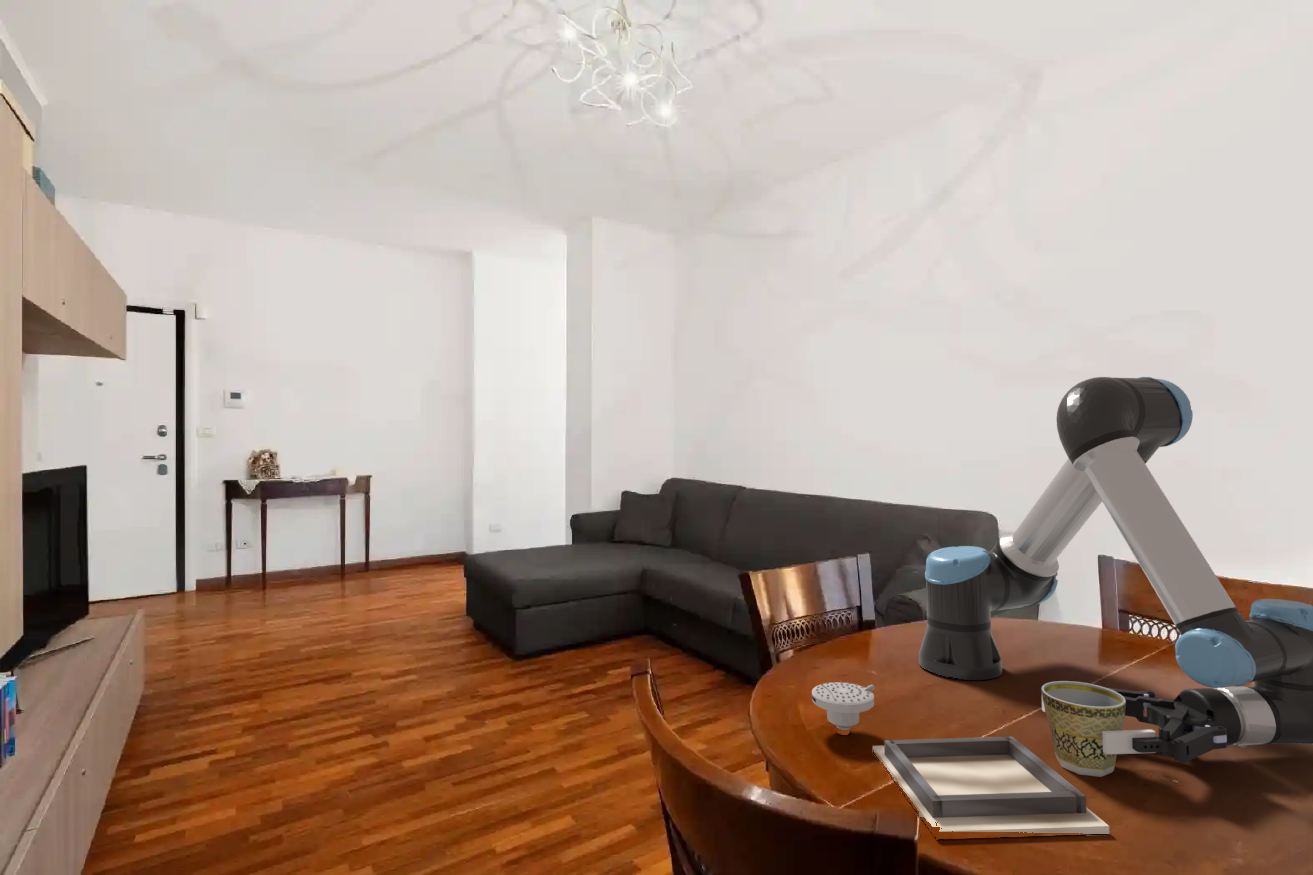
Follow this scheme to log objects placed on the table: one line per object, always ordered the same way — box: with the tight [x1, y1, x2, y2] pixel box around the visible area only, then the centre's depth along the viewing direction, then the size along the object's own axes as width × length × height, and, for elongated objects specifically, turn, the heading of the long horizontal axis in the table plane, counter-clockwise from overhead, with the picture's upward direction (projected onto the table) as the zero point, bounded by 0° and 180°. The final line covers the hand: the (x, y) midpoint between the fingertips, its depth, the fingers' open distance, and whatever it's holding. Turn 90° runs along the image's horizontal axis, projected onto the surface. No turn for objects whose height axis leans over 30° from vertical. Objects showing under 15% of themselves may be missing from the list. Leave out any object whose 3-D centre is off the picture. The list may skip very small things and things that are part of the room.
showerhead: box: [811, 681, 876, 730], centre depth 107 cm, size 9×7×10 cm
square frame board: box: [872, 736, 1110, 835], centre depth 89 cm, size 22×20×3 cm
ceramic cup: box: [1040, 680, 1126, 778], centre depth 95 cm, size 13×10×10 cm
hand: (1071, 721), depth 95 cm, fingers open, 13 cm apart
